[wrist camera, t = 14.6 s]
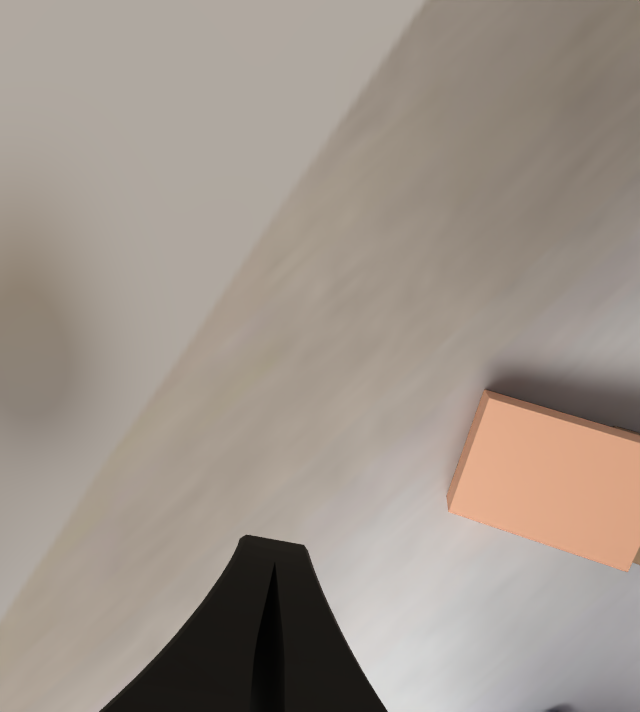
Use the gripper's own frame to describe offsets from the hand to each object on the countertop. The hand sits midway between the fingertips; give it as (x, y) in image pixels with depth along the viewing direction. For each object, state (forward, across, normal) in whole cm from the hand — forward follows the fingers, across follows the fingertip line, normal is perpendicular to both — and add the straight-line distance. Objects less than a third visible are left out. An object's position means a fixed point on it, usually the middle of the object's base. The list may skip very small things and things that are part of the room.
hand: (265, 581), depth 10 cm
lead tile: (+9, -8, 0) cm, 12 cm away
